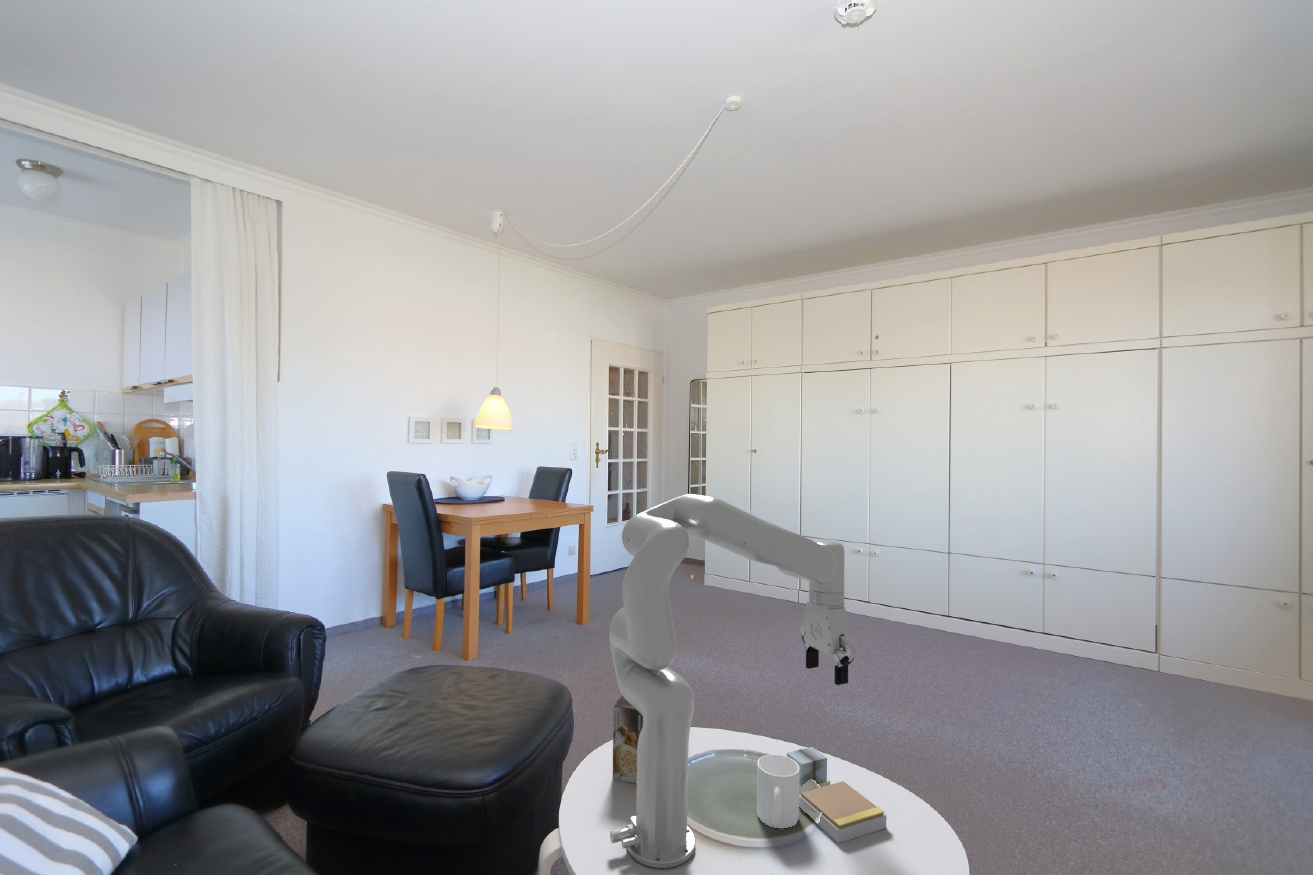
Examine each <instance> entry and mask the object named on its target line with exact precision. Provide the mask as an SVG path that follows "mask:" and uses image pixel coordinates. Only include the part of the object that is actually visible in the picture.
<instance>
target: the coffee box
mask: <svg viewBox="0 0 1313 875" xmlns="http://www.w3.org/2000/svg"><path fill="white" fill-rule="evenodd" d="M612 710H613V712H612V713H613V714H612V715H613V716H612V717H613V718H612V723H613V725H612V779H613V780H616V781H622V782H628V783H633V784H637V746H638V739H639V735H640V733H641V730H642V727H643V723H644V720H643V716H642V715H641V714H640V713H639V712H638V711H637V710H636V709H635V708H634V707H633V706H632V705H631V704H630V703H629V702H628V701H627V700H626V699H625V698H624V697H623V695H622V696H620V698H618V700H617V701H616V703H615V704H614V706H613V709H612Z"/></svg>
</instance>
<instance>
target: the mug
mask: <svg viewBox="0 0 1313 875" xmlns="http://www.w3.org/2000/svg"><path fill="white" fill-rule="evenodd" d="M756 769H757V770H756V771H757V772H756V774H757V775H756V778H757V779H756V813H757V817H758V818H760V819H759V820H760V821H761V822H762V823H763V824H764V823H765V824H764V825H765V826H767V825H768V826H767V827H769V826H770V827H769V828H772V827H774V828H773V829H775V828H782V829H781V830H784V829H783V828H788V827H791V828H793V827H794V826H796V825H797V823H798V822H799V817H800V816H799V815H800V808H799V774H800V768H799V765H798V764H797V762H795V761H794V760H793V759H791V758H789V757H787V755H781V754H773V753H771V754H766V755H763V756H760V758H759V759H757V768H756ZM797 821H798V822H797ZM792 826H793V827H792ZM788 829H789V828H788Z"/></svg>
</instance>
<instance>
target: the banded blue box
mask: <svg viewBox="0 0 1313 875" xmlns="http://www.w3.org/2000/svg"><path fill="white" fill-rule="evenodd" d="M786 757H789V758H791V759H793V760H794V761H795V762H797V764H798V765H799V768H800V774H799V785H800V786H801V787H802V785H803V784H805V783H806V782H807V781H808V780H810V779H813V780H815V781H816V783H817V784H819V785H820V787H823V786H827V785H831V780H830V779H829V778H828V757H827V756H825V755H824V754H823V753H822V752H820V751H819V750H817V749H816V748H814V746H811V747H806V748H801V749H798V750H793V751H789V752H786Z"/></svg>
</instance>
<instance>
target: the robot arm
mask: <svg viewBox="0 0 1313 875" xmlns="http://www.w3.org/2000/svg"><path fill="white" fill-rule="evenodd" d="M690 536H691V537H693V538H694V537H695V538H697V539H698V538H699V539H702V540H704V541H706V542H709V543H711V544H713V545H716V546H717V547H720V548H722V549H724V550H727V551H729V552H731V553H734V554H735V555H738V556H740V557H742V558H745V559H747V560H750V561H753V562H757V563H760V564H763V565H764V564H765V565H769V566H772V567H773V566H774V567H776V569H778V571H780V572H781V573H783V574H784V575H786V576H790V577H793V578H796V579H800V580H804V581H808V599H807V602H806V605H805V610H804V618H803V619H804V620H803V625H801V626H799V628H800V633H801V640H802V642H803V644H804V645H803V648H804V650H805V668H806V669H809V670H810V669H815V668H819V666H820V665H819V664H820V661H819V660H820V654H819V653H823V654H825V655H828V656H832V657H833V659H834V662H835V663H836V665H834V685H836V686H841V685H845V684H848V683H849V666H851V664H852V663H853V661H854V658H855V656H856V654H857V649H856V647H854V646H853V644H852V643H851V642H850V641H849V629H848V628H849V626H848V616H847V612H846V606H845V547H844V545H843V544H842V543H841V542H838V541H836V540H835V541H834V540H827V539H826V540H823V539H822V540H821V539H820V540H812V539H811V538H808V537H806V536H804V535H801V534H798V533H796V532H793V531H791V530H787V529H785V528H783V527H781V526H779V525H776V524H775V523H773V522H769V521H766V520H764V519H762V518H759V517H758V516H755V515H754V514H751V513H749V512H746V511H745V510H742V509H741V508H739V507H736V506H734V505H733V504H731V503H729V502H727V501H725V500H722V499H720V498H717V497H714V496H709V495H702V494H694V493H688V494H687V493H686V494H683V495H680V496H679V495H678V496H677V497H674V498H672V499H670V500H667V501H664V502H662V503H660V504H658V505H656V506H653V507H651V508H649V509H646V510H643V511H641V512H640V513H637V514H634V515H633V516H632V517H631V518H630V519H629V520H628V521H627V522H626V523H625V524H624V526H623V529H622V532H621V542H622V545H623V547H624V549H625V550H626V551H627V552H628V554H630V555H632V556H633V558H632V559H631V561H630V563H629V565H628V567H627V569H626V571H625V574H624V576H623V580H622V586H621V594H622V595H621V596H622V603H623V607H622V608H620V609H619V610H618V611H617V612H616V613H615V614H614V616H613V617H612V620H611V623H610V625H609V632H608V636H609V638H608V639H609V646H610V650H611V651H610V652H611V655H612V661H613V667H614V672H615V676H616V680H617V684H618V688H619V692H620V693H621V695H622V696H623V697H624V698H625V699H626V700H627V701H628V702H629V703H630V704H631V705H632V706H633V707H634V708H635V709H636V710H637V711H638V712H639V713H640V714H641V715H642V716H643V720H644V723H643V727H642V730H641V733H640V735H639V739H638V746H637V783H636V789H635V790H636V798H635V815H633V816H631V817H630V824H626V825H625V827H623V828H617V829H613V830H610V832H609V838H610V842H611V844H616V843H619V842H621V847H622V848H621V849H622V850H625V849H627V850H628V853H629V854H630V856H631V857H632V858H633V859H634V860H636V861H637V862H638V863H640V864H641V865H645V866H647V867H650V868H654V869H667V868H668V869H669V868H674V867H676V866H680V865H682V864H684V863H686V862H687V861H688V860H689V859H690V858H691V857H692V856H693V854H694V852H695V849H696V838H695V834H694V832H693V830H692V829H690V827H689V826H688V801H689V800H688V792H689V791H688V790H689V785H688V784H689V748H690V747H689V742H690V732H691V727H692V726H691V725H692V721H693V716H694V711H695V695H694V693H693V690H692V688H691V686H690V685H689V683H688V682H687V681H686V680H685V678H684V677H682V676H681V675H679V673H677V672H675V671H674V670H672V669H671V668H669V667H670V666H671V665H672V664H673V663H674V661H675V659H676V657H677V653H678V640H677V635H676V634H677V633H676V629H675V628H676V627H675V623H674V619H673V612H672V608H671V603H670V593H669V586H670V582H671V579H672V577H673V575H674V573H675V571H676V569H677V568H678V567H679V566H680V564H681V563H682V562H683V560H684V559H685V557H686V556H687V553H688V550H689V547H690ZM840 656H841V657H840Z"/></svg>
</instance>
